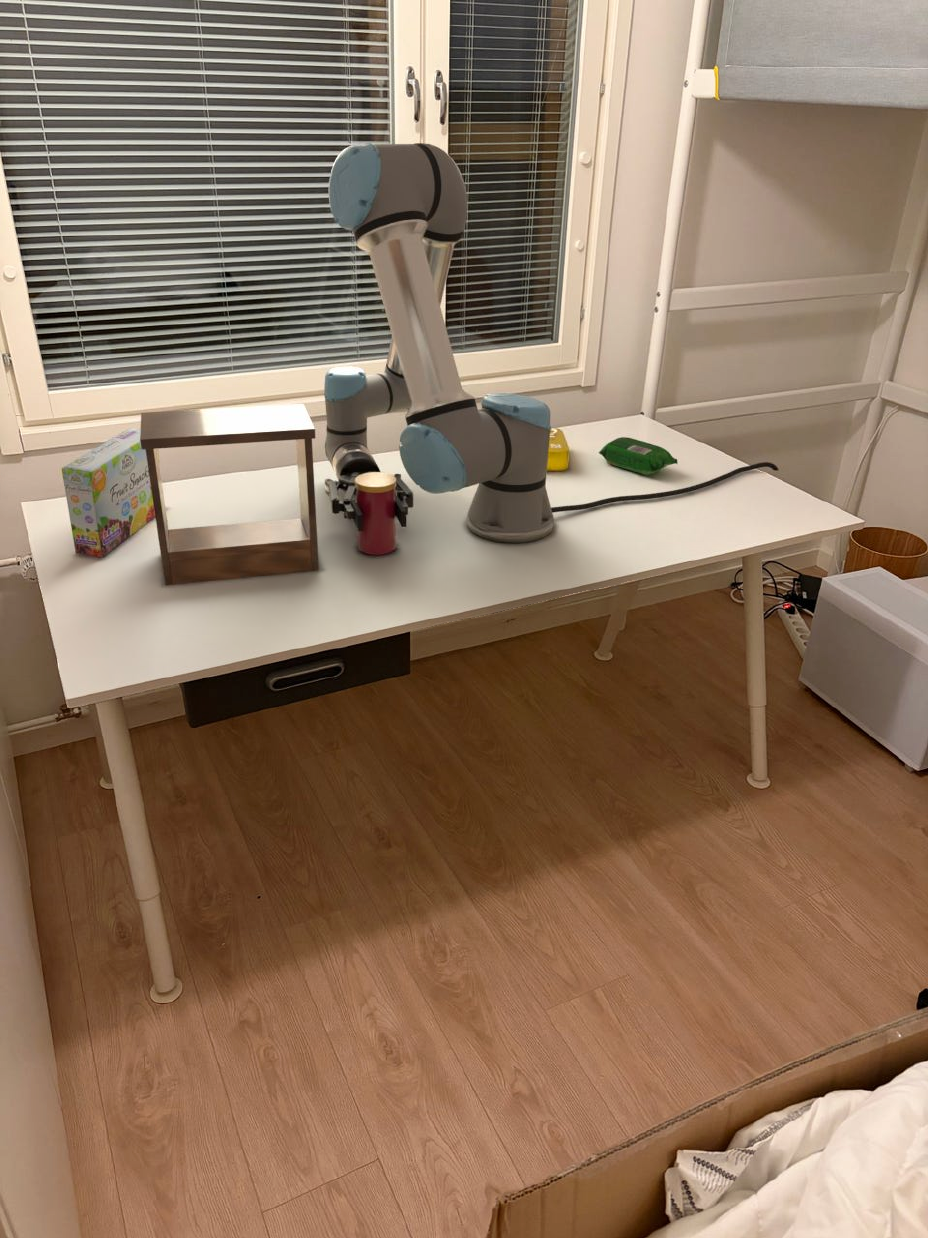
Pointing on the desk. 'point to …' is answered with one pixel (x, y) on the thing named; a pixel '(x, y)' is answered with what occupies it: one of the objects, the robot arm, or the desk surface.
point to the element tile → (557, 451)
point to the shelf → (245, 543)
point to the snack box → (108, 494)
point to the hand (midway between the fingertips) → (382, 521)
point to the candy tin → (377, 512)
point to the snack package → (636, 455)
